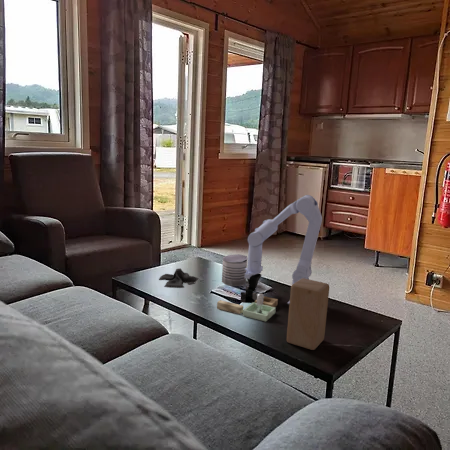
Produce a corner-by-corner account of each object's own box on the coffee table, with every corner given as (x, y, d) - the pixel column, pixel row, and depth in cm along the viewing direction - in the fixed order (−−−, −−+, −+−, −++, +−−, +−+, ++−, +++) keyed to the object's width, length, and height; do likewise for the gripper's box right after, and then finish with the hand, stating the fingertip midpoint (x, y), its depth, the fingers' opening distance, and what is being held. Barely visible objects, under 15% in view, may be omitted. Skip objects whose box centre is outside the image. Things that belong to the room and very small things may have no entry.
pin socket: (277, 304, 169) (277, 299, 168) (271, 310, 162) (271, 304, 162) (261, 301, 172) (261, 295, 171) (254, 306, 165) (254, 300, 165)
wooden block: (314, 352, 131) (320, 291, 128) (284, 342, 137) (289, 284, 133) (324, 340, 140) (330, 283, 136) (296, 332, 145) (301, 276, 141)
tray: (275, 313, 160) (275, 307, 160) (266, 321, 152) (266, 315, 152) (252, 307, 164) (253, 302, 164) (242, 315, 156) (243, 310, 156)
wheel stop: (243, 312, 159) (243, 305, 159) (240, 314, 157) (240, 307, 157) (219, 306, 164) (220, 300, 163) (216, 308, 162) (217, 302, 161)
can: (248, 286, 189) (249, 260, 187) (223, 286, 187) (224, 260, 185) (243, 278, 200) (245, 253, 198) (220, 277, 198) (221, 253, 196)
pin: (263, 312, 159) (264, 294, 157) (260, 315, 157) (262, 296, 155) (257, 311, 160) (258, 292, 158) (254, 313, 158) (256, 294, 156)
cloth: (169, 291, 179) (170, 277, 177) (150, 279, 193) (150, 266, 192) (213, 283, 192) (213, 270, 190) (192, 272, 206) (192, 260, 205)
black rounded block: (257, 304, 169) (258, 293, 168) (239, 303, 169) (240, 292, 168) (256, 293, 181) (257, 283, 180) (239, 292, 181) (240, 282, 180)
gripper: (253, 254, 183) (251, 284, 186) (238, 262, 171) (236, 293, 173) (267, 257, 180) (265, 287, 183) (254, 265, 168) (252, 297, 170)
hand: (252, 290), depth 178 cm, fingers closed
